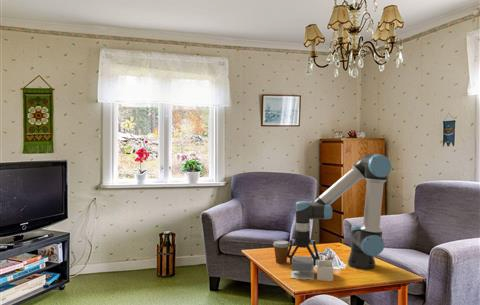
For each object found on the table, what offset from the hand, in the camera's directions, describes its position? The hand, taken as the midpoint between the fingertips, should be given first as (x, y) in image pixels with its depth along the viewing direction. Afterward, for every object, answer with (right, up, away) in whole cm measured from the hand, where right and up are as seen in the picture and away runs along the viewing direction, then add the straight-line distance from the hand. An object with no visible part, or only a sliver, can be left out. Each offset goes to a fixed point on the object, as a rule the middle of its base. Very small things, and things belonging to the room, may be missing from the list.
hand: (302, 270), depth 220 cm
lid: (0, +2, 0) cm, 2 cm away
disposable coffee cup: (-9, -1, +22) cm, 24 cm away
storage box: (+11, -2, -5) cm, 12 cm away
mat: (0, -2, 0) cm, 2 cm away
